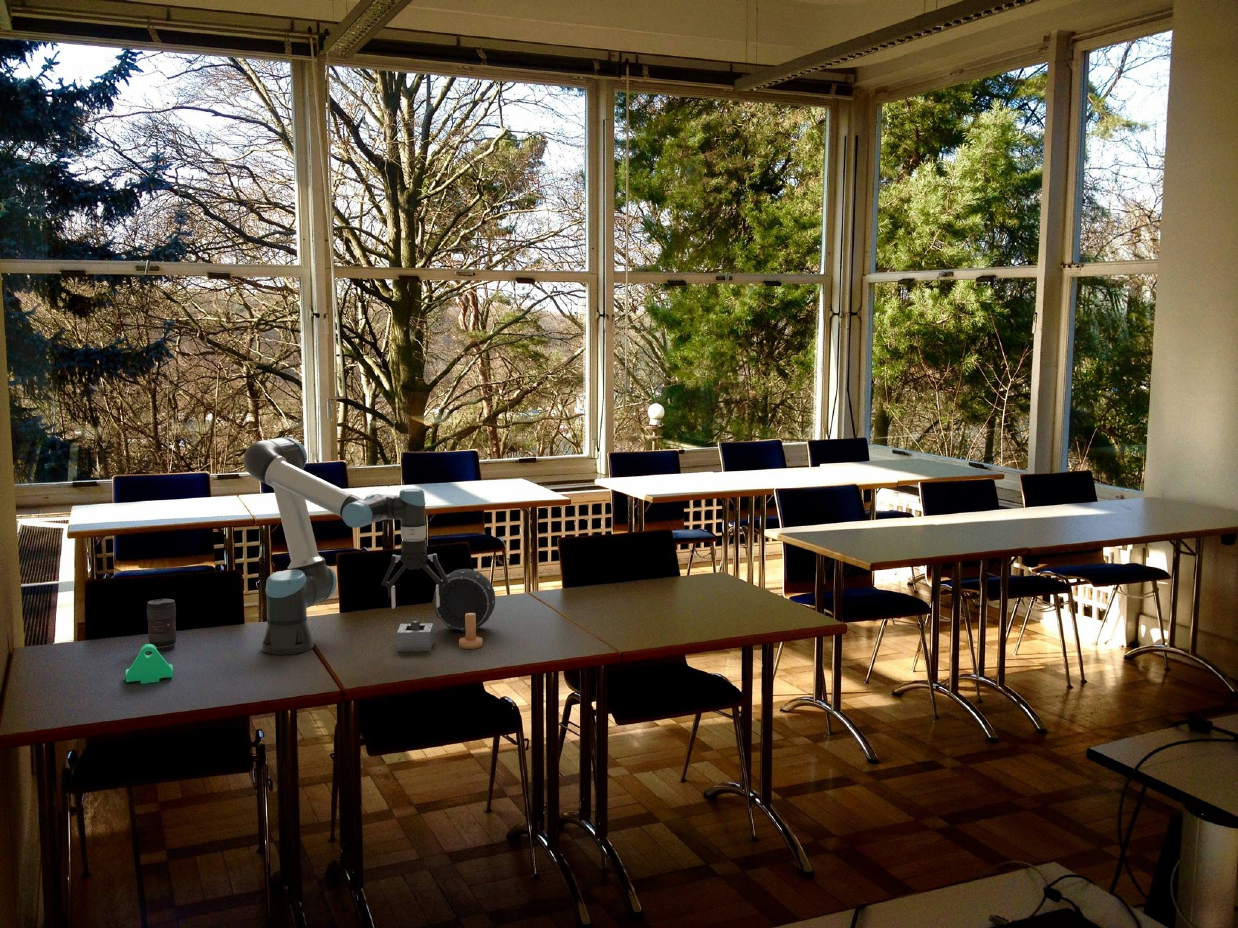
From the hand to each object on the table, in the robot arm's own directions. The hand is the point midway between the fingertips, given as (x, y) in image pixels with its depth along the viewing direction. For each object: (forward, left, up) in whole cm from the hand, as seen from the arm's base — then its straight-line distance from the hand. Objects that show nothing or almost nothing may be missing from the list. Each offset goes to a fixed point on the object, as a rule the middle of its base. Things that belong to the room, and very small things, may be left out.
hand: (416, 606), depth 328 cm
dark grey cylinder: (-77, +3, -13) cm, 78 cm away
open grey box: (0, 0, -13) cm, 13 cm away
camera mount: (-71, -26, -13) cm, 77 cm away
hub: (+17, 0, -13) cm, 21 cm away
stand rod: (0, 0, -13) cm, 13 cm away
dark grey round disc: (+14, +19, -13) cm, 27 cm away
